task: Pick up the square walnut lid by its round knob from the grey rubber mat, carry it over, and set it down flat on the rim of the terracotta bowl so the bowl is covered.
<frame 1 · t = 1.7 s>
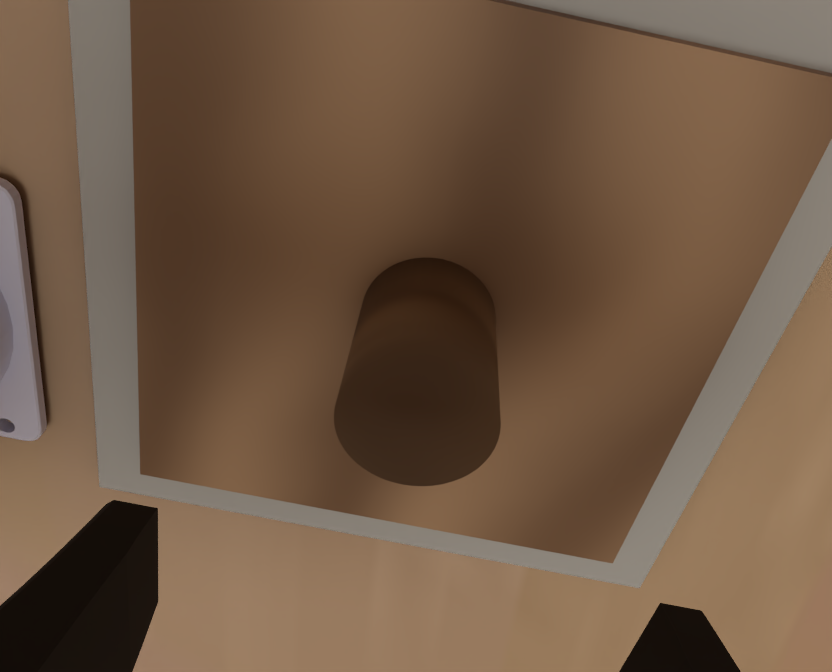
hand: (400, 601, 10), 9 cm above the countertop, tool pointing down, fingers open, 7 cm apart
mat: (430, 297, 18), on the countertop
lid: (429, 305, 18), resting on mat
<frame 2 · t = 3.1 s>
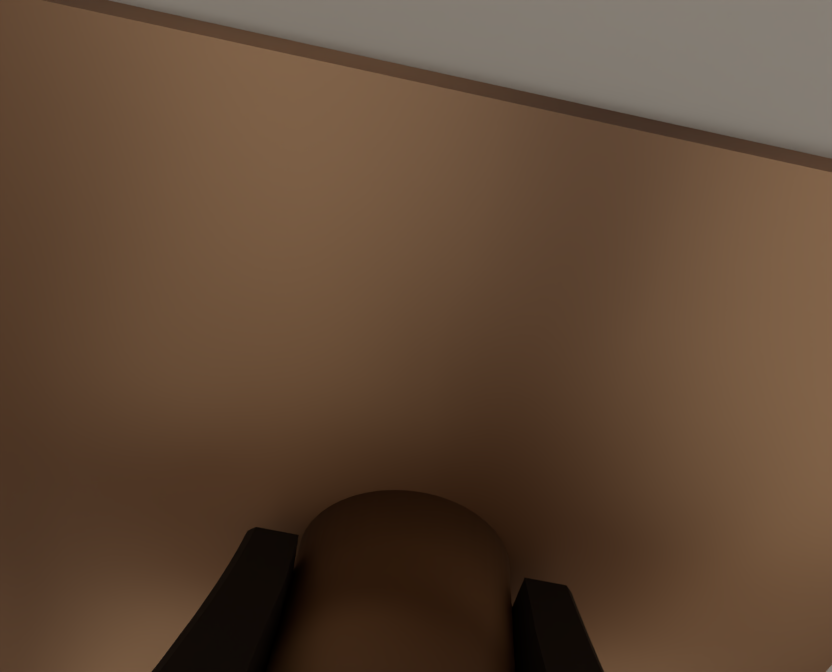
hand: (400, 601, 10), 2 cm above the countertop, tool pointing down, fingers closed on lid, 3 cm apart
mat: (408, 518, 12), on the countertop
lid: (406, 536, 11), resting on mat, touching gripper
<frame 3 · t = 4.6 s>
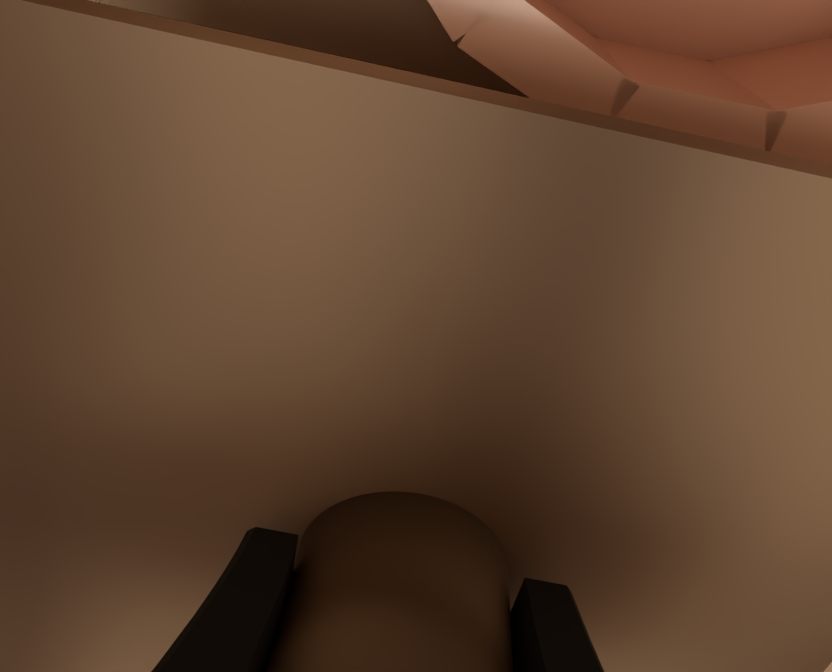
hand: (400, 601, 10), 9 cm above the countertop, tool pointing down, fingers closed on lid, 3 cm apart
lid: (405, 538, 11), point 7 cm above the countertop, touching gripper
when the fingers open (7 cm above the countertop, at t = 6.0 s): lid drops 1 cm, resting on bowl.
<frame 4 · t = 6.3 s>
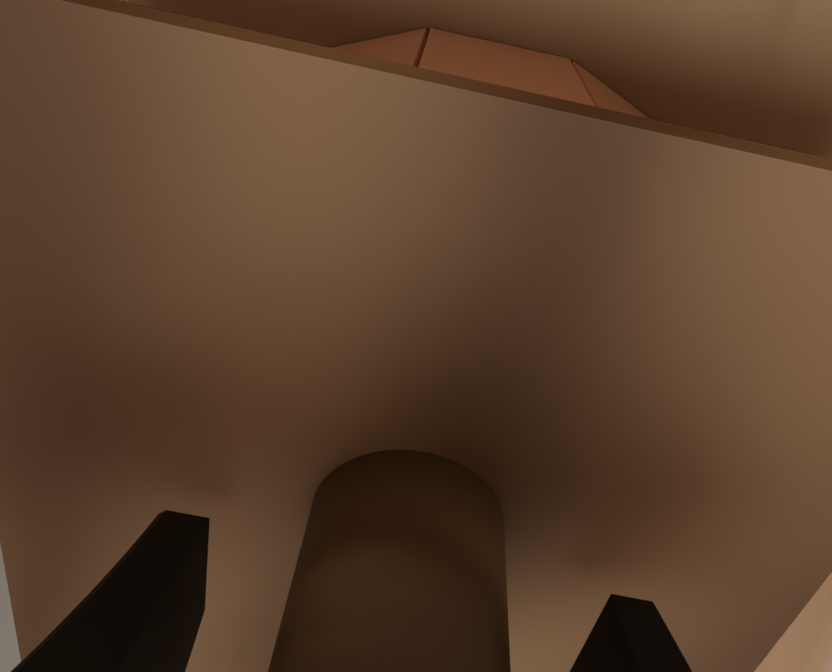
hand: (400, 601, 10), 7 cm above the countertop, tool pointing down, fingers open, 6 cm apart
lid: (409, 497, 12), point 4 cm above the countertop, touching bowl
bowl: (426, 345, 16), on the countertop
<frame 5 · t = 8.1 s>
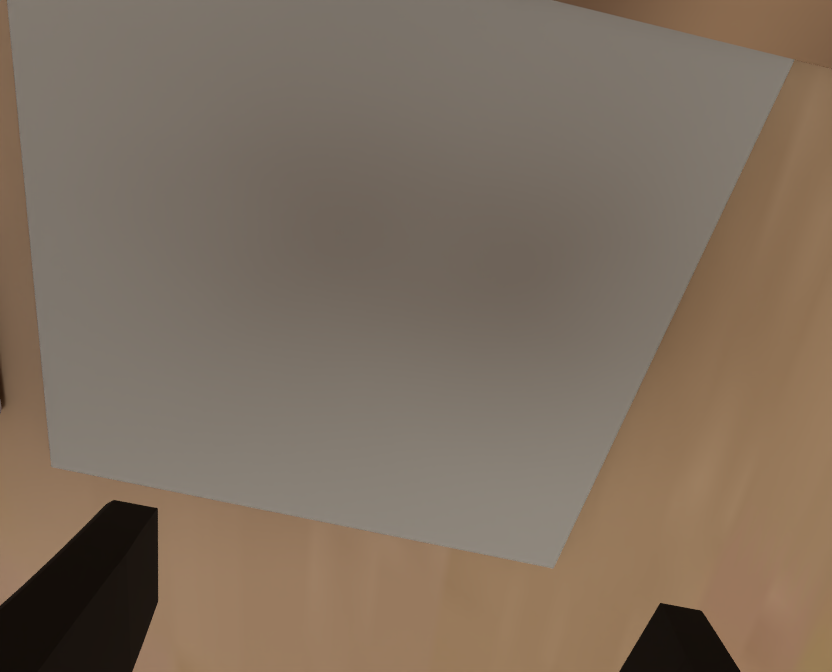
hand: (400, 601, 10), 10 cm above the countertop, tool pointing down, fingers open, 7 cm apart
mat: (347, 295, 20), on the countertop
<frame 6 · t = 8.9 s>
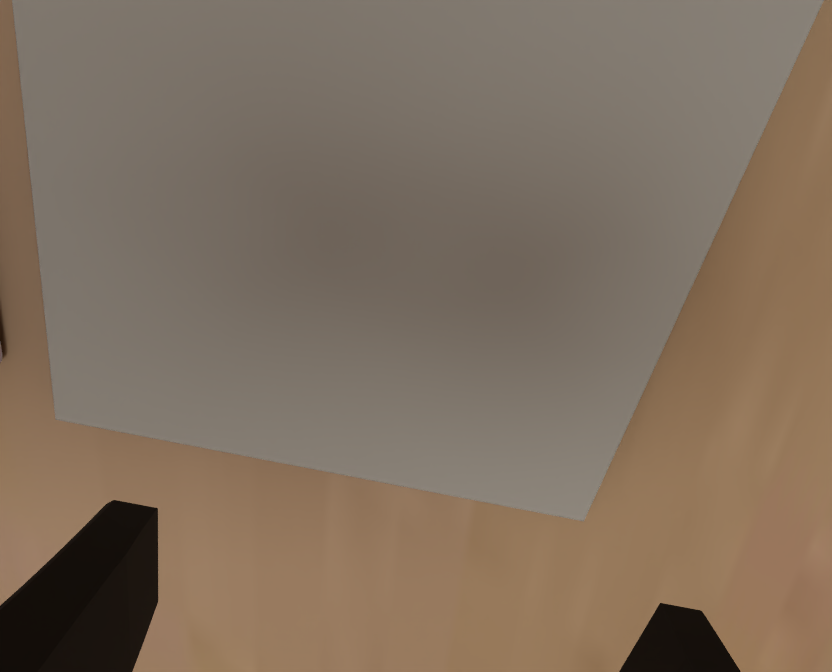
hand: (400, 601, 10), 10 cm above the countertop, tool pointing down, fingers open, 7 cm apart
mat: (366, 222, 18), on the countertop
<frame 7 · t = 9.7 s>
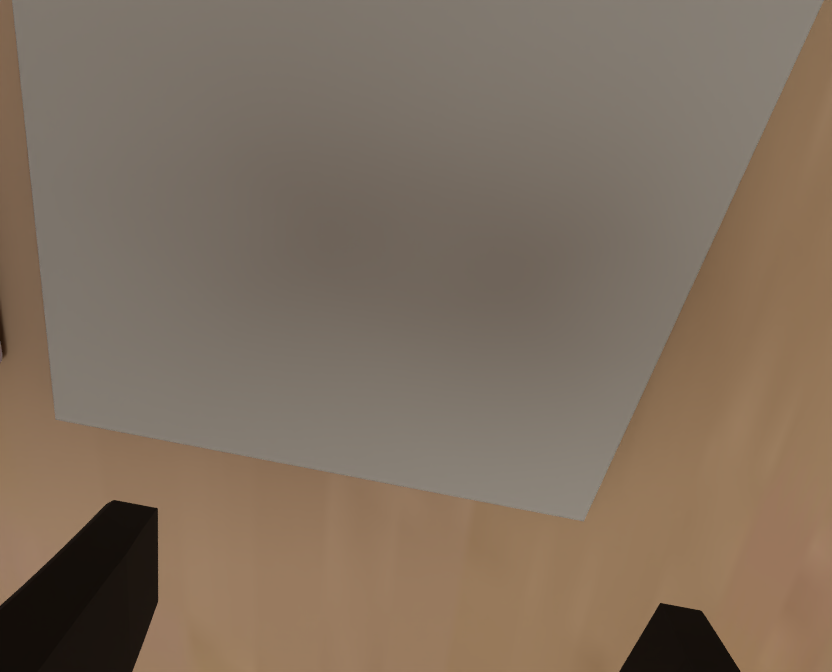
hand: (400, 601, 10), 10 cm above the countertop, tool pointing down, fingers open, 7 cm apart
mat: (366, 222, 18), on the countertop
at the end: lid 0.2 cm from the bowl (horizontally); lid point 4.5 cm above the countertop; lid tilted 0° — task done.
